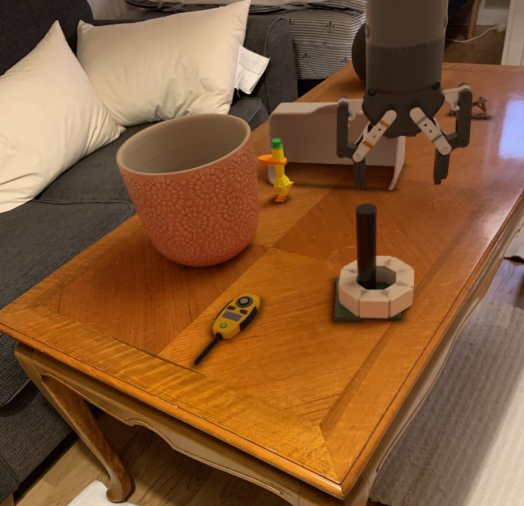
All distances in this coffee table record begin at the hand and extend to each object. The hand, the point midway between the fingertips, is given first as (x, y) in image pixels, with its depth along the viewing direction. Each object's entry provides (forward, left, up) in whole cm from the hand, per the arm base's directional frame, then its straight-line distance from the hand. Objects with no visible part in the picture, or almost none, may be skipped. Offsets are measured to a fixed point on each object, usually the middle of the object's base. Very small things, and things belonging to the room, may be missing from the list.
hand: (399, 184), depth 62 cm
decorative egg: (+1, -85, -18) cm, 87 cm away
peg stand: (+4, 0, -18) cm, 19 cm away
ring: (+3, 0, -17) cm, 17 cm away
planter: (+31, -16, -18) cm, 39 cm away
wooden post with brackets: (-18, -60, -18) cm, 65 cm away
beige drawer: (+9, -41, -18) cm, 46 cm away
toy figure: (+20, -30, -18) cm, 40 cm away
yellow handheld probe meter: (+24, +6, -18) cm, 31 cm away
